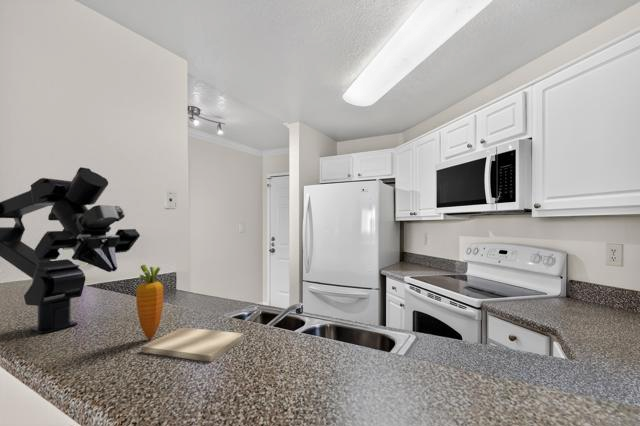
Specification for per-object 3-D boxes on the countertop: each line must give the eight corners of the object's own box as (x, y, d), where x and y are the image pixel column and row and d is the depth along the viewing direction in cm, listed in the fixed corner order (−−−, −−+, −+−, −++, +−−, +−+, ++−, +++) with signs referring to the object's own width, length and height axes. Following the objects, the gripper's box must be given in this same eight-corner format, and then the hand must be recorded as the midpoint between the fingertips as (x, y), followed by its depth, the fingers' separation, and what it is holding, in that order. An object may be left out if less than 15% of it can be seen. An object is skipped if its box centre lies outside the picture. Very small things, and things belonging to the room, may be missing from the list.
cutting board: (141, 352, 53) (141, 346, 53) (183, 332, 62) (183, 327, 62) (210, 361, 48) (210, 355, 48) (244, 338, 58) (244, 333, 58)
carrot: (169, 337, 60) (168, 263, 60) (143, 346, 55) (143, 266, 56) (155, 333, 62) (155, 262, 63) (130, 341, 58) (130, 265, 59)
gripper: (44, 189, 56) (85, 247, 52) (134, 196, 73) (169, 240, 70) (18, 231, 58) (55, 289, 54) (111, 228, 76) (144, 273, 72)
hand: (113, 270), depth 62 cm, fingers closed
